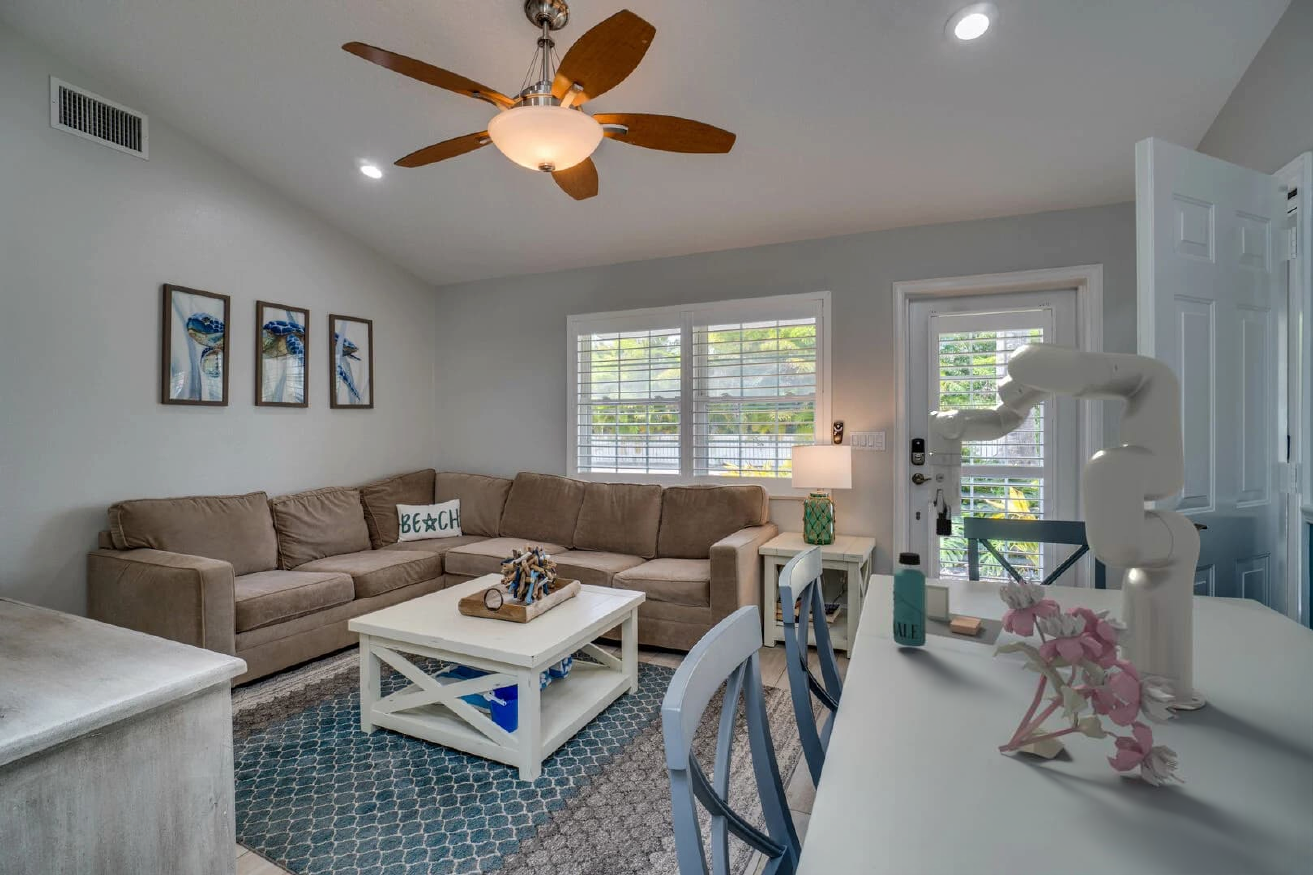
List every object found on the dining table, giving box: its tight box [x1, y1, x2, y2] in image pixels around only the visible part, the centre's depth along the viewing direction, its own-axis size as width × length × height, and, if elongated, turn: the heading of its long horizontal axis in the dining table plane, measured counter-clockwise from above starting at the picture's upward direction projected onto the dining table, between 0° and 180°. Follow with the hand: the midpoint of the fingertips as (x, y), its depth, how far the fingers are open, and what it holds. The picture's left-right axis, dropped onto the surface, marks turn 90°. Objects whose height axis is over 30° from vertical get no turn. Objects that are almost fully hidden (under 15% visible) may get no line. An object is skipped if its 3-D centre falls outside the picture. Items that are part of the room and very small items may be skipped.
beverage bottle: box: [892, 551, 927, 648], centre depth 129 cm, size 6×7×20 cm
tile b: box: [925, 583, 950, 621], centre depth 148 cm, size 2×5×8 cm, turn 54°
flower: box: [992, 572, 1196, 787], centre depth 83 cm, size 20×22×25 cm
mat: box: [925, 612, 1004, 646], centre depth 143 cm, size 20×20×1 cm
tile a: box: [950, 615, 981, 635], centre depth 140 cm, size 2×5×8 cm
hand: (943, 534), depth 153 cm, fingers closed
